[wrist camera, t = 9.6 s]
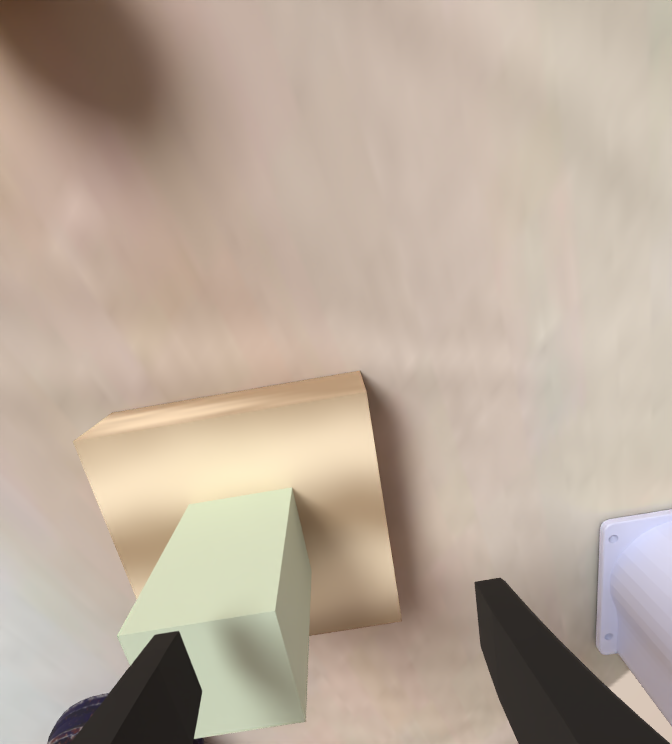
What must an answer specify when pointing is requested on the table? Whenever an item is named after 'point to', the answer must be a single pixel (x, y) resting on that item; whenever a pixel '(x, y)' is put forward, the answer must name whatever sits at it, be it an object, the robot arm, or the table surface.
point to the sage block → (234, 609)
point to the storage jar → (80, 721)
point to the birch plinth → (256, 483)
